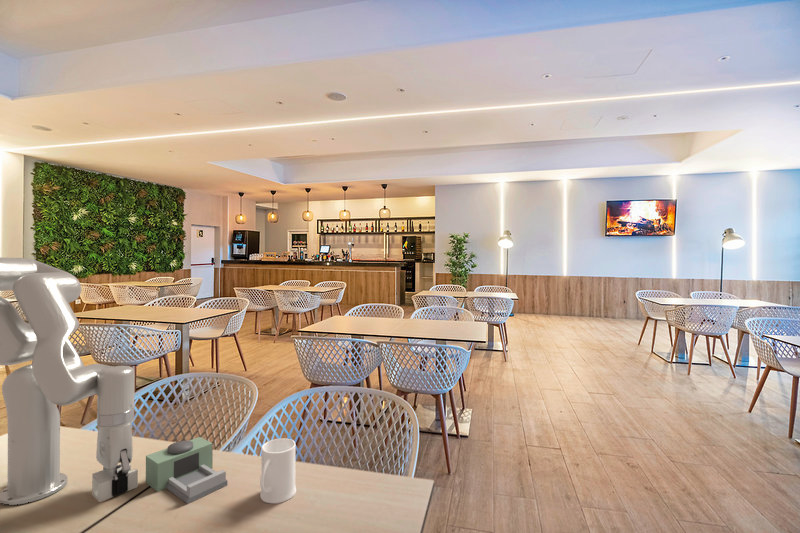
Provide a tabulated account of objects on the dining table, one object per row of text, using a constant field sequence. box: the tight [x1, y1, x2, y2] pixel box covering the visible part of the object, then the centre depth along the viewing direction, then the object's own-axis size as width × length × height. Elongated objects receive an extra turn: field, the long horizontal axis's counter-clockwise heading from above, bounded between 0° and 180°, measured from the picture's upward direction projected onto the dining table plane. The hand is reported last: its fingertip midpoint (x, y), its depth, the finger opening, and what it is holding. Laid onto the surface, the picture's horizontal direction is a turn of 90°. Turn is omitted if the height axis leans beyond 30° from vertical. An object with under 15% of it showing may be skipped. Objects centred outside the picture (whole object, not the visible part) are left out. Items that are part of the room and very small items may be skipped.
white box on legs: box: [91, 463, 139, 503], centre depth 97 cm, size 8×5×5 cm, turn 144°
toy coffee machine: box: [145, 436, 228, 505], centre depth 102 cm, size 18×14×8 cm
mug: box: [259, 437, 297, 504], centre depth 95 cm, size 12×8×12 cm
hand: (115, 488), depth 97 cm, fingers closed on white box on legs, 5 cm apart
